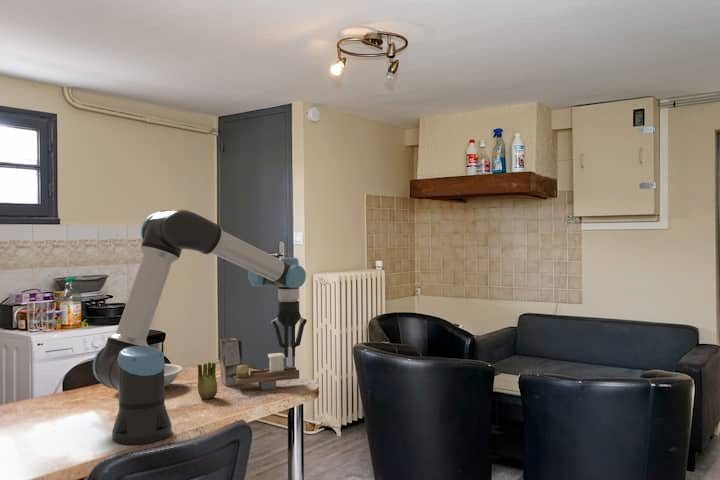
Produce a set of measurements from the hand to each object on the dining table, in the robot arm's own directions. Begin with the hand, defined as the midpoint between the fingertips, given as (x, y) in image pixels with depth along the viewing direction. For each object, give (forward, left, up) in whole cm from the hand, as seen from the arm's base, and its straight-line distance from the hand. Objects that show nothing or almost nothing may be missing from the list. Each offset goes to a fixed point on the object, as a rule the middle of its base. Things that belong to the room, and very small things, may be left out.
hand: (289, 365), depth 215 cm
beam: (0, +8, -7) cm, 11 cm away
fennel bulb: (-6, +29, -7) cm, 31 cm away
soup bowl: (+15, +48, -8) cm, 51 cm away
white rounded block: (0, +5, -3) cm, 5 cm away
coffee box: (+13, +19, -7) cm, 24 cm away
